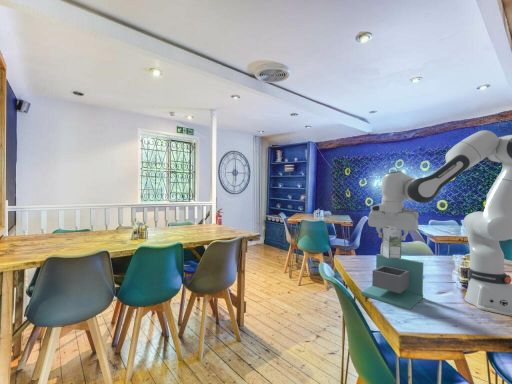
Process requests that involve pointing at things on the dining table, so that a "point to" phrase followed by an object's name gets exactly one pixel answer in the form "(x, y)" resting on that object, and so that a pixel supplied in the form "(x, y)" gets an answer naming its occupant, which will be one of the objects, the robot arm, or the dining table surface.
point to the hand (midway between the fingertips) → (391, 238)
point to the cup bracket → (396, 281)
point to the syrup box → (391, 242)
